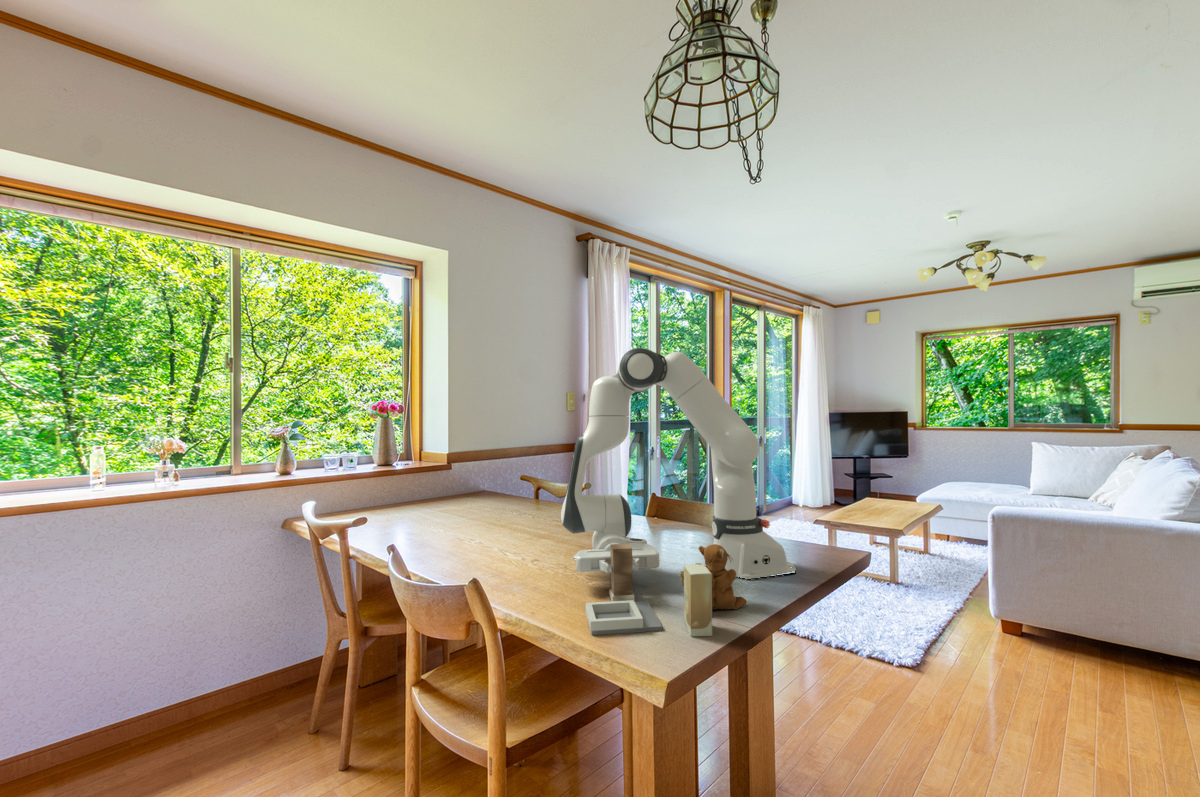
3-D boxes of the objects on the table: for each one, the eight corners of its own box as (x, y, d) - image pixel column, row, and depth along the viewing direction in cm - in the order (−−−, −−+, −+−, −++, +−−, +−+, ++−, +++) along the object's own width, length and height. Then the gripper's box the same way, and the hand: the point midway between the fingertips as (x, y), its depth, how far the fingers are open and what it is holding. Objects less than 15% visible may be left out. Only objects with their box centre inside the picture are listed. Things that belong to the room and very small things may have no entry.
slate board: (647, 604, 121) (647, 593, 121) (662, 630, 107) (661, 617, 107) (584, 608, 119) (584, 596, 119) (590, 635, 105) (590, 621, 105)
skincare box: (683, 624, 110) (682, 563, 110) (704, 623, 110) (703, 563, 110) (690, 637, 104) (689, 573, 104) (713, 636, 104) (712, 572, 104)
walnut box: (630, 594, 128) (629, 543, 128) (634, 601, 123) (633, 548, 123) (609, 595, 128) (608, 544, 128) (612, 602, 123) (611, 549, 123)
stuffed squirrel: (750, 605, 120) (748, 545, 120) (708, 621, 111) (707, 557, 112) (714, 593, 128) (713, 537, 128) (672, 608, 119) (671, 548, 119)
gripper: (572, 542, 137) (576, 557, 123) (651, 538, 140) (664, 553, 126) (572, 567, 137) (577, 585, 123) (652, 563, 139) (665, 580, 126)
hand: (622, 569), depth 125 cm, fingers closed on walnut box, 4 cm apart
